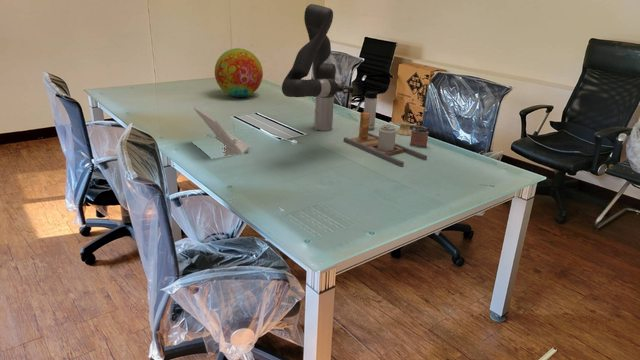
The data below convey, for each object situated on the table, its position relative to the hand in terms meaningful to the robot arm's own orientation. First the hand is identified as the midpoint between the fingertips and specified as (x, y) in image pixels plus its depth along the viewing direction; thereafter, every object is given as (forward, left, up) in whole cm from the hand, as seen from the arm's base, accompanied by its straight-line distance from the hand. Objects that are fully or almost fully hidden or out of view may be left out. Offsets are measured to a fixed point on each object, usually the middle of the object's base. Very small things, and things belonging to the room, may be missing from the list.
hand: (350, 87), depth 205 cm
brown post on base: (+13, -4, -27) cm, 30 cm away
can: (+16, -10, -27) cm, 33 cm away
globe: (-54, +95, -27) cm, 112 cm away
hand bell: (+34, +18, -27) cm, 47 cm away
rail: (+16, -8, -27) cm, 32 cm away
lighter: (+34, -2, -27) cm, 44 cm away
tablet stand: (-58, -3, -28) cm, 64 cm away
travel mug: (+16, +26, -27) cm, 41 cm away
